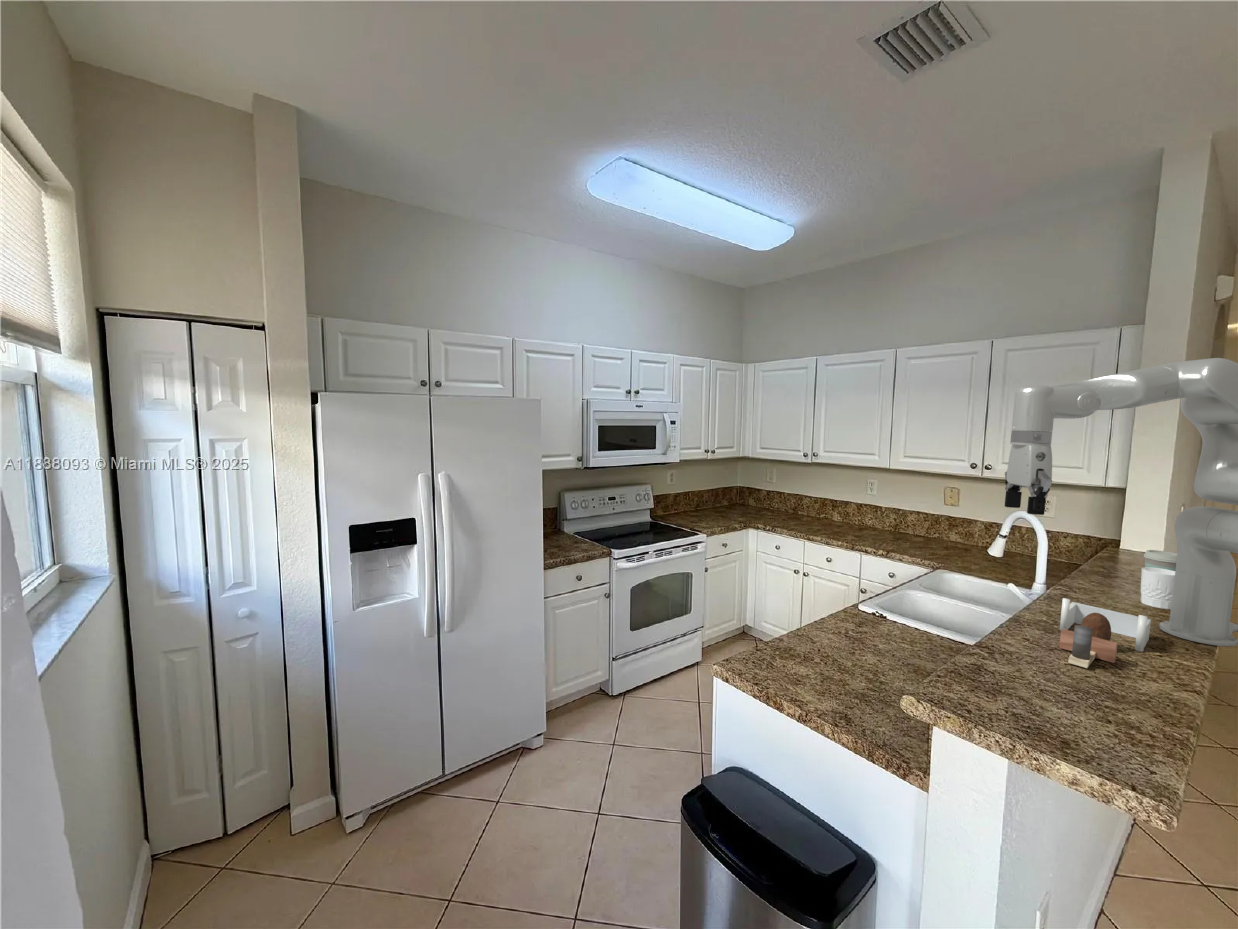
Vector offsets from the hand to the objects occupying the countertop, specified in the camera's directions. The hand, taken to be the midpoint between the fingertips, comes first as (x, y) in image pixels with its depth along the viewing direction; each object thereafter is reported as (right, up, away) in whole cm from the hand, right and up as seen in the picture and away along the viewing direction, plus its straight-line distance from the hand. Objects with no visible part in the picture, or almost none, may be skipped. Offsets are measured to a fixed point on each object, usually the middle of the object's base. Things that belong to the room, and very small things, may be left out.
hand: (1023, 510), depth 121 cm
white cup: (+57, -29, +24) cm, 69 cm away
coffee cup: (+72, -29, +37) cm, 86 cm away
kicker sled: (+3, -31, -12) cm, 33 cm away
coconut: (+12, -31, -5) cm, 34 cm away
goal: (+21, -30, +2) cm, 37 cm away
